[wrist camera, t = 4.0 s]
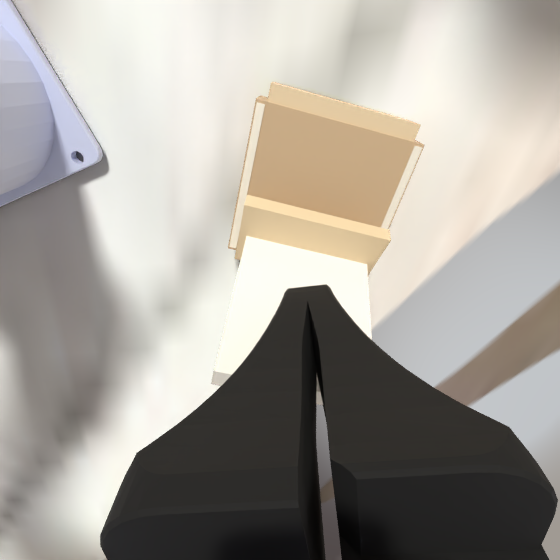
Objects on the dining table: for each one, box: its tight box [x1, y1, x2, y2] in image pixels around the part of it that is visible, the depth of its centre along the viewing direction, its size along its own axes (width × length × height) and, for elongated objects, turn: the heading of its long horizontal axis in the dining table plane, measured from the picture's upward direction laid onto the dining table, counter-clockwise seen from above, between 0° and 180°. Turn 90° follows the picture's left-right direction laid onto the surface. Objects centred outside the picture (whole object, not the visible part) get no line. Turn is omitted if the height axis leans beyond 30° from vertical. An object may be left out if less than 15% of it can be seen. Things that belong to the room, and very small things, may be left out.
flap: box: [211, 195, 391, 405], centre depth 13 cm, size 3×6×6 cm, turn 76°
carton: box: [228, 82, 424, 276], centre depth 15 cm, size 7×6×2 cm
